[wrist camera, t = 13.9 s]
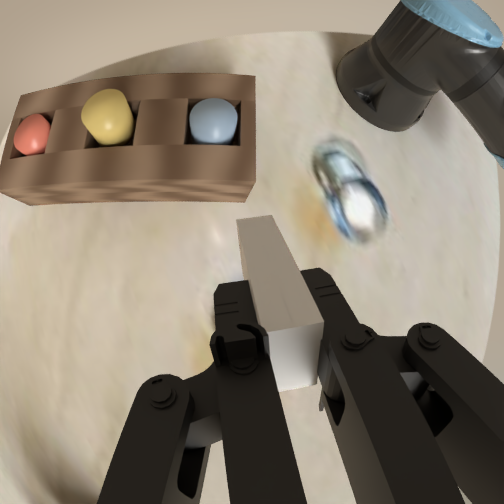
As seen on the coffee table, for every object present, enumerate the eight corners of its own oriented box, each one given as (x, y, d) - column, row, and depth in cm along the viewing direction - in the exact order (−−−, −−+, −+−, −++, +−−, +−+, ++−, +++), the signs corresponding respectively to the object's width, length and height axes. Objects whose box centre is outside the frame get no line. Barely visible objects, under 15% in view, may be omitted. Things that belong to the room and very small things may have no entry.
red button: (64, 128, 27) (49, 110, 23) (57, 162, 27) (39, 148, 22) (36, 133, 26) (19, 117, 22) (28, 166, 26) (9, 153, 22)
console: (245, 112, 35) (255, 75, 27) (244, 202, 34) (255, 181, 26) (46, 122, 31) (20, 95, 23) (29, 205, 30) (-5, 190, 22)
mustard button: (139, 110, 26) (130, 86, 22) (132, 148, 26) (121, 127, 22) (100, 113, 26) (87, 91, 21) (92, 150, 25) (76, 131, 21)
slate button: (233, 121, 30) (237, 99, 26) (232, 157, 30) (237, 138, 25) (193, 119, 29) (191, 97, 25) (189, 156, 29) (187, 137, 25)
